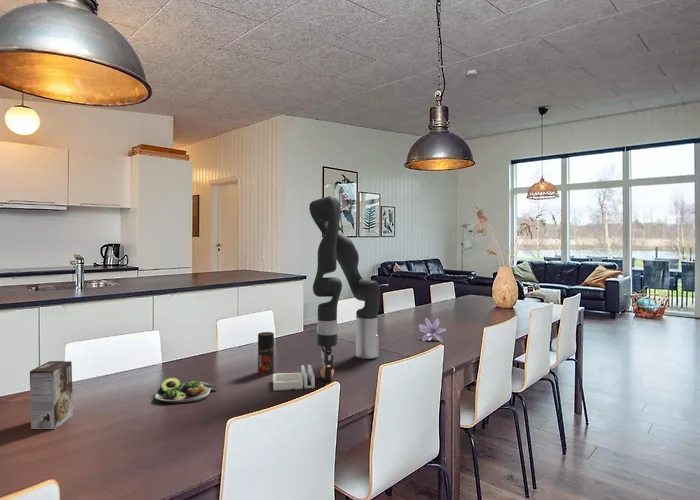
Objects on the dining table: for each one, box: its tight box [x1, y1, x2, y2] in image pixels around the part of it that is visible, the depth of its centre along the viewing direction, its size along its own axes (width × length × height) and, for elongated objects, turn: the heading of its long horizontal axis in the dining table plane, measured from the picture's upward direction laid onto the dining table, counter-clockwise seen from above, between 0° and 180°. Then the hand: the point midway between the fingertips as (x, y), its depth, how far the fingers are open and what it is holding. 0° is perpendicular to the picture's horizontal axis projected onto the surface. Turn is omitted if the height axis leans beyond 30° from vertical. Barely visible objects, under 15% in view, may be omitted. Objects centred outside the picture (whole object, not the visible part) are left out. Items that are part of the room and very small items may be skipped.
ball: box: [319, 365, 335, 380], centre depth 159 cm, size 5×5×5 cm
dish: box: [272, 371, 304, 392], centre depth 152 cm, size 10×10×3 cm
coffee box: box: [29, 360, 74, 430], centre depth 120 cm, size 9×6×16 cm
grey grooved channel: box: [300, 364, 316, 390], centre depth 155 cm, size 4×14×4 cm, turn 11°
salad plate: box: [153, 377, 220, 405], centre depth 143 cm, size 19×18×5 cm
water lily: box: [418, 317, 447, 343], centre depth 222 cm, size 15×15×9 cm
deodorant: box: [257, 331, 275, 376], centre depth 165 cm, size 6×6×15 cm
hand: (326, 377), depth 159 cm, fingers closed on ball, 5 cm apart
